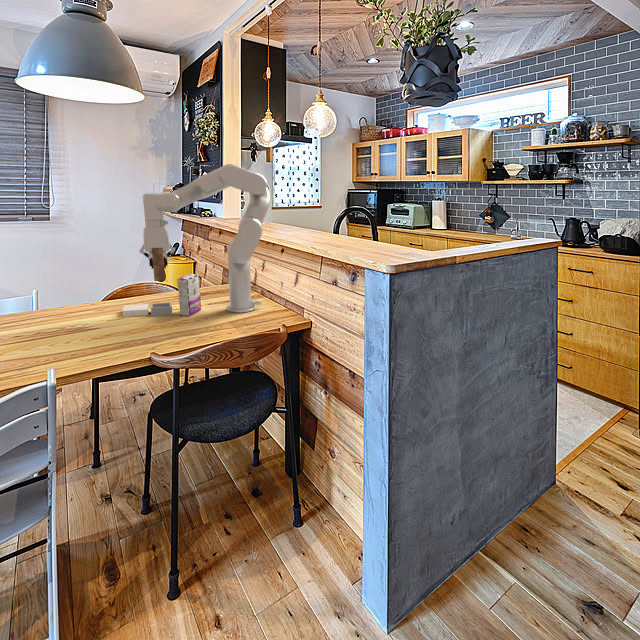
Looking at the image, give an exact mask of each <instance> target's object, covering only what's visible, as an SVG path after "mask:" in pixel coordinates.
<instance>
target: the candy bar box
mask: <svg viewBox="0 0 640 640" xmlns="http://www.w3.org/2000/svg"><path fill="white" fill-rule="evenodd" d="M176 280H177V293H178V303H179V315H180V316H181V315H183V316H182V317H191V316H193V315H195V314H197V313H199V312H201V310H202V305H201V301H202V300H201V289H200V276H199V274H198V273H196V274H195V273H188V274H186V275H183V276H180V277H178V278H177V279H176Z"/></svg>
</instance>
